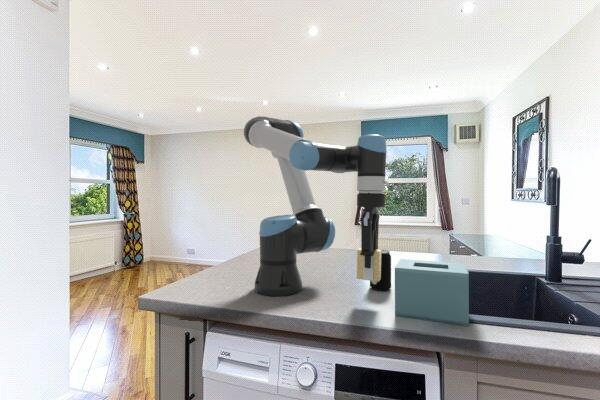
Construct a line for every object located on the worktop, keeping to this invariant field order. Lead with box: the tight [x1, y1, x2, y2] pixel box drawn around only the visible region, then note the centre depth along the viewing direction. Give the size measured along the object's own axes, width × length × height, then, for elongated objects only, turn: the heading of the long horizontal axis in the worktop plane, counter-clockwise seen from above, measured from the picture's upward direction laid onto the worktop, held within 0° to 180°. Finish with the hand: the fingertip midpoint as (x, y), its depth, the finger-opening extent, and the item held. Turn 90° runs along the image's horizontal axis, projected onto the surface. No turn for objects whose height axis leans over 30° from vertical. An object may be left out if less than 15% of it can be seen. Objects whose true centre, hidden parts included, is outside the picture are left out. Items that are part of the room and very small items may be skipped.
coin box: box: [394, 258, 470, 327], centre depth 78 cm, size 16×12×12 cm
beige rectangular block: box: [356, 247, 382, 282], centre depth 85 cm, size 6×3×8 cm, turn 66°
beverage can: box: [369, 249, 392, 292], centre depth 99 cm, size 7×7×12 cm
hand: (369, 277), depth 85 cm, fingers closed on beige rectangular block, 3 cm apart
